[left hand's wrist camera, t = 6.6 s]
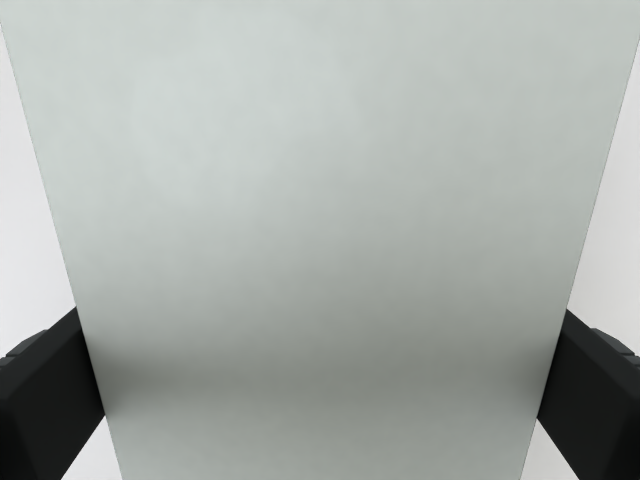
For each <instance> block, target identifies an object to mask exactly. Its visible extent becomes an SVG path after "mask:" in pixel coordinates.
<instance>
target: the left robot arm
mask: <svg viewBox="0 0 640 480" xmlns="http://www.w3.org/2000/svg"><path fill="white" fill-rule="evenodd" d="M104 416H105V412H104V408H103V404H102V400H101V397H100V393H99V389H98V385H97V382H96V378H95V374H94V370H93V367H92V363H91V359H90V356H89V352H88V348H87V344H86V341H85V337H84V333H83V329H82V326H81V322H80V318H79V315H78V311H77V307H75V308H73V309H72V310H71V311H70V312H69V313H67V314H66V315H65V316H64V317H63V318H61V319H60V320H59V321H58V322H57V323H56V324H54V325H53V326H52V327H51V328H50V329H48V330H43V331H41V332H39V333H37V334H35V335H33V336H31V337H29V338H28V339H26V340H24V341H22V342H21V343H20V344H18V345H17V346H16V347H15V348H13V349H12V350H11V351H10V352H8V353H7V354H6V357H2V358H1V359H0V480H61V479H62V477H63V476H64V474H65V473H66V471H67V470H68V468H69V467H70V465H71V464H72V463H73V461H74V460H75V458H76V457H77V455H78V454H79V452H80V451H81V449H82V448H83V447H84V445H85V444H86V442H87V441H88V439H89V438H90V436H91V435H92V433H93V432H94V430H95V429H96V428H97V426H98V425H99V423H100V422H101V420H102V419H103V417H104ZM537 419H538V420H539V422H540V423H541V425H542V426H543V428H544V429H545V431H546V432H547V433H548V435H549V436H550V438H551V439H552V441H553V442H554V444H555V445H556V447H557V448H558V449H559V451H560V452H561V454H562V455H563V457H564V458H565V460H566V461H567V463H568V464H569V465H570V467H571V468H572V470H573V471H574V473H575V474H576V476H577V477H578V479H579V480H640V357H639V356H635V353H634V352H632V351H631V350H630V349H629V348H627V347H626V346H625V345H624V344H622V343H621V342H620V341H619V340H617V339H615V338H613V337H612V336H610V335H608V334H606V333H604V332H602V331H600V330H598V329H596V328H589V327H588V326H587V325H586V324H584V323H583V322H582V321H581V320H580V319H578V318H577V317H576V316H575V315H574V314H573V313H571V312H570V311H569V310H568V309H567V308H566V312H565V315H564V319H563V323H562V326H561V330H560V334H559V337H558V341H557V345H556V349H555V352H554V356H553V360H552V363H551V367H550V371H549V374H548V378H547V382H546V385H545V389H544V393H543V396H542V400H541V404H540V407H539V411H538V415H537Z"/></svg>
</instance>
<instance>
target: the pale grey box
mask: <svg viewBox="0 0 640 480" xmlns="http://www.w3.org/2000/svg"><path fill="white" fill-rule="evenodd" d="M0 24H1V27H2V31H3V35H4V39H5V42H6V46H7V50H8V53H9V57H10V61H11V65H12V68H13V72H14V76H15V80H16V83H17V87H18V91H19V94H20V98H21V102H22V106H23V109H24V113H25V117H26V121H27V124H28V128H29V132H30V136H31V139H32V143H33V147H34V150H35V154H36V158H37V162H38V165H39V169H40V173H41V177H42V180H43V184H44V188H45V191H46V195H47V199H48V203H49V206H50V210H51V214H52V218H53V221H54V225H55V229H56V232H57V236H58V240H59V244H60V247H61V251H62V255H63V259H64V262H65V266H66V270H67V274H68V277H69V281H70V285H71V288H72V292H73V296H74V300H75V303H76V307H77V311H78V315H79V318H80V322H81V326H82V329H83V333H84V337H85V341H86V344H87V348H88V352H89V356H90V359H91V363H92V367H93V370H94V374H95V378H96V382H97V385H98V389H99V393H100V397H101V400H102V404H103V408H104V412H105V415H106V419H107V423H108V426H109V430H110V434H111V438H112V441H113V445H114V449H115V453H116V456H117V460H118V464H119V467H120V471H121V475H122V479H123V480H520V477H521V474H522V470H523V466H524V463H525V459H526V455H527V452H528V448H529V444H530V441H531V437H532V433H533V430H534V426H535V422H536V418H537V415H538V411H539V407H540V404H541V400H542V396H543V393H544V389H545V385H546V382H547V378H548V374H549V371H550V367H551V363H552V360H553V356H554V352H555V349H556V345H557V341H558V337H559V334H560V330H561V326H562V323H563V319H564V315H565V312H566V308H567V304H568V301H569V297H570V293H571V290H572V286H573V282H574V279H575V275H576V271H577V268H578V264H579V260H580V256H581V253H582V249H583V245H584V242H585V238H586V234H587V231H588V227H589V223H590V220H591V216H592V212H593V209H594V205H595V201H596V198H597V194H598V190H599V187H600V183H601V179H602V175H603V172H604V168H605V164H606V161H607V157H608V153H609V150H610V146H611V142H612V139H613V135H614V131H615V128H616V124H617V120H618V117H619V113H620V109H621V106H622V102H623V98H624V94H625V91H626V87H627V83H628V80H629V76H630V72H631V69H632V65H633V61H634V58H635V54H636V50H637V47H638V43H639V39H640V0H0Z"/></svg>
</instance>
